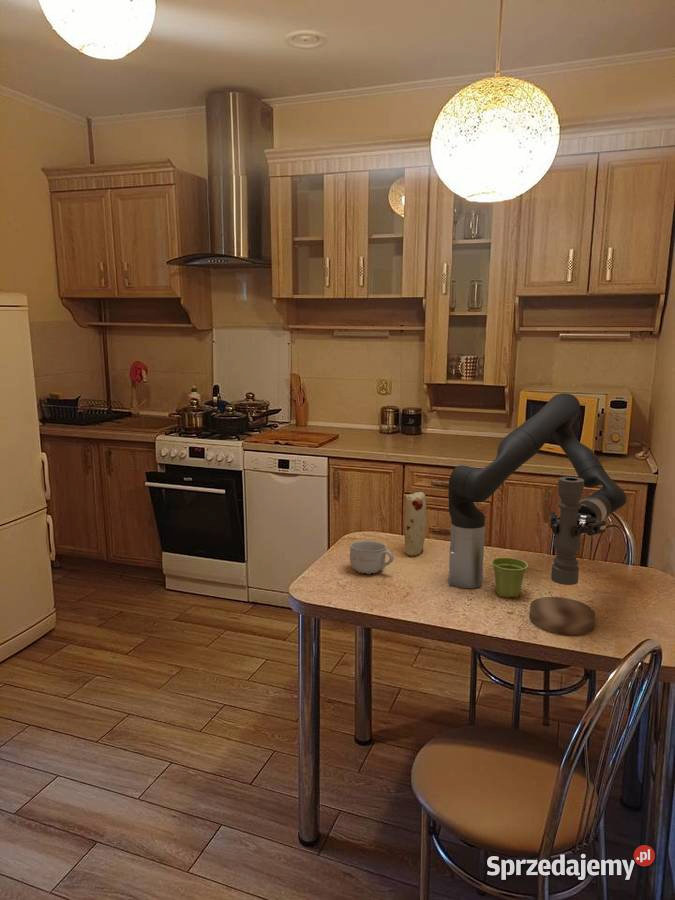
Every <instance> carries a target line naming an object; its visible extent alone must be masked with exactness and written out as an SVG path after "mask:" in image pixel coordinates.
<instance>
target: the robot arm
mask: <svg viewBox="0 0 675 900" xmlns="http://www.w3.org/2000/svg"><path fill="white" fill-rule="evenodd" d="M580 410H581V403H580V401H579V399H578V397H576V396H575V395H573V394H571V393H567V392H566V393H565V392H564V393H563V392H562V393H557V394H555V395H553V396H552V397H551V398H550V399H549V400H548V402H547V403H546V404H545V405H544V406H543V407H541V408H540V409H539V410H538V412H537V413H535V414H534V415H532V416H531V417H530V418H528V419H527V420H526V421H524V422H523V423H522V424H520V425H519V426H518V427H516V428H515V429H513V430H512V431H511V432H510V433H508V434H507V435H506V436H504V437H503V438H502V439H501V441H500V442H499V444H498V447H497V451H496V457H495V459H494V460H493V461H492V462H490V463H489V464H488V465H486V466H485V467H483V468H477V467H473V466H468V465H462V464H461V465H457V466H456V467H454V469H453V470H452V471H451V473H450V475H449V478H448V485H447V487H448V491H447V492H448V495H447V496H448V512H449V516H450V540H449V541H450V543H449V544H450V546H449V556H448V557H449V559H448V561H449V562H448V563H449V564H448V585H449V586H454V587H457V588H462V589H475V588H479V587H481V586H482V584H483V575H484V574H483V572H484V553H485V552H484V551H485V549H484V548H485V531H486V529H485V527H486V516H485V514H484V513H483V512H482V511H481V510H480V509H479V508H478V507H477V506H476V504H477V503H483V502H485V501H486V500H488V499H489V498H490V497H491V496H492V495H493V494H494V493H495V492H496V491H497V490H498V488H500V486H502V484H503V483H504V482H505V481H507V479H508V478H509V477H510V476H512V475H513V473H514V472H516V471H517V470H518V469H519V468H520V467H521V466H522V465H523V466H524V465H525V464H526V462H528V461H529V460H530V459H532V458H533V457H534V456H535V455H536V454H538V452H539V451H540V450H541V449H542V448H543V446H544V445H545V444H546V443H547V441H548V440H549V439H550V437H552V438H553V439H554V441H555V442H556V443H557V444H558V446H559V447H560V448H561V449H562V451H563V452H564V454H565V455H566V457H567V458H568V460H569V461H570V463H571V465H572V467H573V470H574V471H575V472H576V474H577V478H581V479H583V480H584V487H585V488H588V489H589V488H595V487H599V486H602V487H601V488H600V489H598V490H596V491H595V492H593V493H592V494H590V495H589V496H587V497H586V498H583V499H580V501H578V502H579V503H580V504H581V509H579V511H578V515H577V526H575V527H574V528H573V529H572V537H574V538H575V537H577V536H583V535H585V534H587V536H591V537H592V536H595V535H599V534H602V533H606V527H607V525H606V524H607V522H606V521H605V520H606V519H607V518H608V517H609V515H611V514H612V513H614V512H616V511H617V510H619V509H620V508H623V507H624V506H625V505H626V503H627V495H626V493H625V490H623V488H621V487H620V486H619V485H618V484H617V483H616V482H615V481H614V480H613V478H611V477H610V475H608V473H607V472H606V470H605V468H604V466H603V465H602V463H601V461H600V459H599V458H598V456H597V454H596V453H595V452H594V450H592V449H591V448H589V447H588V446H586V445H585V444H583V443H582V442H581V441H579V440H578V438H576V434H575V433H574V430H573V427H572V426H573V424H574V422H575V421H576V419H577V418H578V416H579V414H580ZM475 503H476V504H475ZM549 520H550V521H549V527H550V529H551V531H552V533H553V534H555V535H556V534H557V533H558V528H559V522H560V515H559V514H558V513H557V512H555V511H552V512H550V519H549Z"/></svg>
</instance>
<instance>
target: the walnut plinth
mask: <svg viewBox="0 0 675 900" xmlns="http://www.w3.org/2000/svg"><path fill="white" fill-rule="evenodd" d="M528 618H529V620H530V622H531V623H532V624H533V625H534V626H536V627H537V628H539V629H541V630H542V631H543V630H544V631H546V632H549V633H552V634H557V635H561V636H562V635H563V636H583V635H586V634H589V633H591V632H592V631H594V629H595V625H596V624H595V623H596V612H595V610H594V609H593V608H592V607H590V606H589V605H587V604H585V603H583V602H581V601H579V600H577V599H572V598H567V597H560V596H542V597H538V598H536V599H533V600H532V601H531V602H530V603H529V616H528Z"/></svg>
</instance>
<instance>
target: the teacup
mask: <svg viewBox="0 0 675 900" xmlns="http://www.w3.org/2000/svg"><path fill="white" fill-rule="evenodd" d="M386 549H387V545H386V544H385V543H382V542H380V541H376V540H373V541H372V540H358V541H354V542H352V543H350V544H349V562H350V566H351V567H352V568H353V569H354V570H355V571H356V572H357V571H358V573H360V572H361V573H360V574H363V573H367V574H366V575H371V573H373V574H377V573H379V571H381V570H383V569H385V568H386V567H387V566H389V565H390V564H392V563H393V561H394V554H393V552H392V551H391V550H388V549H387V550H386ZM386 555H388V557H389V559H388V561H387V562H386V557H387V556H386Z"/></svg>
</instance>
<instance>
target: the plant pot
mask: <svg viewBox="0 0 675 900" xmlns="http://www.w3.org/2000/svg"><path fill="white" fill-rule="evenodd" d="M491 565H492V568H493V571H494V581H495V592H496V593H497V594H498V595H499V597H504V598H512V597H513V598H517V597H519V596H520V594H521V590H522V585H523V579H524V577H525V573H526V570H527V569H528V567H529V563H527V562H526V561H524V560H523V559H518V558H514V557H507V556H506V557H504V556H503V557H502V556H501V557H495V558H493V559H492V560H491Z"/></svg>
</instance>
